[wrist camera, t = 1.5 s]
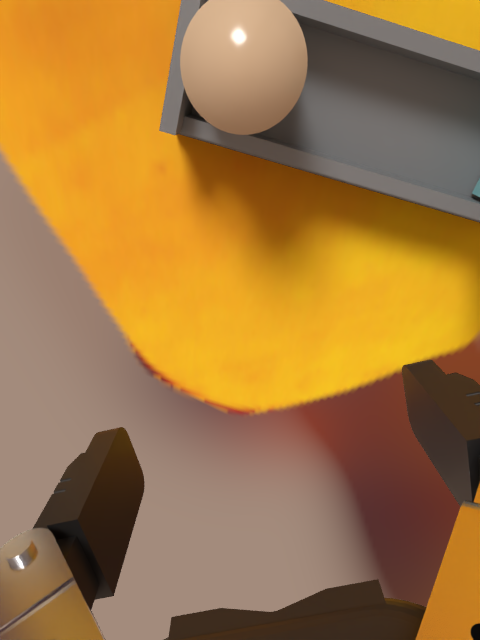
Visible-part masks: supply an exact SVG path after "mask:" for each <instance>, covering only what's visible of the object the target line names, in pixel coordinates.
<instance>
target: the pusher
mask: <svg viewBox="0 0 480 640" xmlns="http://www.w3.org/2000/svg"><path fill="white" fill-rule="evenodd" d="M472 194H474V195H476V196H478V197H480V178H479V180H478V182H477V184H476V186H475V188H474V190H473V192H472Z"/></svg>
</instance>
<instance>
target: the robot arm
mask: <svg viewBox="0 0 480 640" xmlns="http://www.w3.org/2000/svg"><path fill="white" fill-rule="evenodd" d="M402 375H403V383H404V390H405V397H406V403H407V411H408V416H409V421H410V424H411V427H412V430H413V432H414V434H415V436H416V438H417V439H418V441H419V443H420V444H421V446H422V447H423V449H424V451H425V452H426V454H427V455H428V457H429V458H430V460H431V461H432V463H433V465H434V466H435V468H436V469H437V471H438V472H439V474H440V476H441V477H442V479H443V480H444V482H445V483H446V485H447V486H448V488H449V489H450V491H451V493H452V494H453V495H454V497H455V499H456V501H457V502H458V504H459V505H460V507H461V508H460V511H459V514H458V517H457V519H456V523H455V525H454V528H453V531H452V534H451V537H450V540H449V543H448V546H447V549H446V552H445V555H444V558H443V561H442V564H441V566H440V569H439V572H438V575H437V578H436V581H435V584H434V587H433V590H432V593H431V596H430V599H429V602H428V605H427V607H424V606H422V605H419V604H415V603H412V602H409V601H405V600H399V599H393V598H384V596H383V593H382V589H381V586H380V584H379V581H378V580H373V581H367V582H362V583H356V584H350V585H345V586H339V587H334V588H328V589H325V590H323V591H320V592H318V593H316V594H314V595H312V596H309V597H307V598H305V599H303V600H300V601H298V602H296V603H294V604H291V605H289V606H287V607H285V608H283V609H280V610H278V611H274V612H263V611H250V610H238V609H225V608H219V609H213V610H208V611H203V612H197V613H192V614H187V615H181V616H175V617H172V618H171V625H170V632H169V637H168V638H166V639H164V640H480V385H479V384H478V383H477V382H476V381H474V380H473V379H471V378H468V377H466V376H463V375H461V374H458V373H452V374H447V375H446V374H445V373H444V372H443V371H442V370H441V369H440V368H439V367H438V366H437V365H436V364H435V363H434V362H433V361H432V360H426V361H421V362H417V363H412V364H408V365H403V367H402ZM60 481H61V482H60V483H58V485H57V487H56V488H55V490H54V494H52V495H51V497H50V499H49V501H48V502H47V504H46V506H45V508H44V510H43V511H42V513H41V515H40V517H39V518H38V520H37V522H36V524H35V525H34V527H33V529H31V530H28V531H26V532H23V533H21V534H19V535H17V536H16V537H14V538H13V539H11V540H10V541H8V542H7V543H6V544H5V545H4V546H3V547H2V548H0V640H105V638H104V636H103V634H102V632H101V630H100V628H99V626H98V624H97V622H96V620H95V617H94V616H93V614H92V611H91V609H92V605H93V602H94V600H95V599H100V598H105V597H111V596H114V593H115V589H116V586H117V582H118V579H119V576H120V572H121V569H122V565H123V562H124V558H125V554H126V552H127V548H128V545H129V541H130V538H131V534H132V531H133V527H134V524H135V521H136V517H137V514H138V510H139V507H140V503H141V500H142V497H143V493H144V476H143V472H142V469H141V466H140V464H139V461H138V459H137V456H136V454H135V451H134V448H133V446H132V443H131V441H130V438H129V436H128V433H127V431H126V430H125V429H124V428H123V427H120V428H116V429H111V430H107V431H102V432H98V433H96V434H95V435H94V437H93V439H92V441H91V443H90V445H89V447H88V449H87V450H86V452H85V453H82V454H80V455H79V456H78V457H77V458H76V459H75V460H74V461H73V462H72V463H71V464H70V465H69V466H68V467H67V469H66V471H65V472H64V474H63V476H62V478H61V480H60Z"/></svg>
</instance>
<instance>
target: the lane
mask: <svg viewBox="0 0 480 640" xmlns="http://www.w3.org/2000/svg"><path fill="white" fill-rule="evenodd" d="M207 1H208V0H181V6H180V12H179V18H178V24H177V29H176V35H175V41H174V47H173V53H172V59H171V65H170V71H169V77H168V82H167V88H166V94H165V100H164V106H163V112H162V118H161V124H160V130H159V131H163V132H166V133H169V134H173V135H177V134H181V135H184V136H188V137H191V138H194V139H198V140H201V141H205V142H208V143H211V144H215V145H218V146H222V147H225V148H228V149H232V150H235V151H239V152H242V153H245V154H249V155H252V156H256V157H259V158H262V159H266V160H269V161H273V162H276V163H279V164H283V165H286V166H290V167H293V168H296V169H300V170H303V171H307V172H310V173H313V174H317V175H320V176H324V177H327V178H330V179H334V180H337V181H341V182H344V183H347V184H351V185H354V186H358V187H361V188H364V189H368V190H371V191H375V192H378V193H381V194H385V195H388V196H392V197H395V198H398V199H402V200H405V201H409V202H412V203H415V204H419V205H422V206H426V207H429V208H432V209H436V210H439V211H443V212H446V213H449V214H453V215H456V216H460V217H463V218H466V219H470V220H473V221H477V222H480V197H478V196H476V195H474V194H472V192H473V190H474V188H475V186H476V184H477V182H478V180H479V178H480V51H478V50H475V49H472V48H469V47H466V46H463V45H460V44H457V43H454V42H450V41H447V40H444V39H441V38H438V37H435V36H432V35H429V34H426V33H423V32H420V31H417V30H413V29H410V28H407V27H404V26H401V25H398V24H395V23H392V22H389V21H386V20H383V19H380V18H377V17H373V16H370V15H367V14H364V13H361V12H358V11H355V10H352V9H349V8H346V7H343V6H340V5H336V4H333V3H330V2H327V1H324V0H280V1H281V2H282V3H284V4H285V5H286V6H287V8H288V9H289V10H290V11H291V12H292V14H293V15H294V16H295V18H296V19H297V21H298V23H299V25H300V27H301V30H302V32H303V35H304V38H305V43H306V47H307V56H308V61H307V74H306V79H305V83H304V87H303V89H302V92H301V95H300V97H299V99H298V101H297V102H296V104H295V105H294V107H293V108H292V110H291V111H290V112H289V113H288V115H287V116H286V117H285V118H283V119H282V120H281V121H280V122H279V123H277V124H276V125H275V126H273V127H271V128H269V129H267V130H265V131H262V132H259V133H255V134H249V135H238V134H232V133H227V132H225V131H222V130H220V129H218V128H216V127H214V126H212V125H211V124H210V123H208V122H207V121H206V120H205V119H204V118H203V117H202V116H200V114H199V113H198V112H197V111H196V109H195V108H194V107H193V105H192V103H191V102H190V100H189V98H188V96H187V94H186V91H185V88H184V85H183V81H182V77H181V69H180V55H181V47H182V42H183V38H184V35H185V33H186V30H187V27H188V26H189V24H190V22H191V20H192V18H193V17H194V15H195V14H196V12H197V11H198V10H199V9H200V8H201V7H202V6H203V5H204V4H205V3H206V2H207Z"/></svg>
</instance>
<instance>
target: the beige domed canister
mask: <svg viewBox="0 0 480 640" xmlns="http://www.w3.org/2000/svg"><path fill="white" fill-rule="evenodd" d="M307 61H308V56H307V47H306V43H305V38H304V35H303V32H302V30H301V27H300V25H299V23H298V21H297V19H296V18H295V16H294V15H293V14H292V12H291V11H290V10H289V9H288V8H287V6H286V5H285V4H284V3H282V2H281V1H280V0H208V1H207V2H206V3H205V4H204V5H203V6H202V7H201V8H200V9H199V10H198V11H197V12H196V14H195V15H194V17H193V18H192V20H191V22H190V24H189V26H188V27H187V30H186V33H185V35H184V38H183V42H182V47H181V55H180V69H181V77H182V81H183V85H184V88H185V91H186V94H187V96H188V98H189V100H190V102H191V103H192V105H193V107H194V108H195V109H196V111H197V112H198V113H199V114H200V116H202V117H203V118H204V119H205V120H206V121H207V122H208V123H210V124H211V125H212V126H214V127H216V128H218V129H220V130H222V131H225V132H227V133H232V134H238V135H249V134H255V133H259V132H262V131H265V130H267V129H269V128H271V127H273V126H275V125H276V124H277V123H279V122H280V121H281V120H282V119H283V118H285V117H286V116H287V115H288V113H289V112H290V111H291V110H292V108H293V107H294V105H295V104H296V102H297V101H298V99H299V97H300V95H301V92H302V89H303V87H304V83H305V79H306V74H307Z"/></svg>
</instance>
